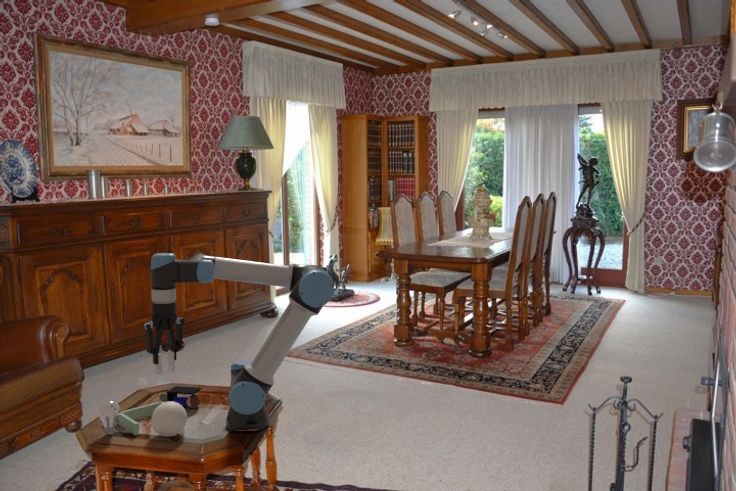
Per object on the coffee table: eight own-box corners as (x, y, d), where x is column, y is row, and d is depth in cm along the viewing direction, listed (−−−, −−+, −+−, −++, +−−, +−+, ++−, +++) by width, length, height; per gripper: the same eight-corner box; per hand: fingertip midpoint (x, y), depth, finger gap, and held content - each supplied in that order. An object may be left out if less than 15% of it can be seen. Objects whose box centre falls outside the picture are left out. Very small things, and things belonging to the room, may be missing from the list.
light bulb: (112, 440, 207) (111, 405, 205) (94, 438, 208) (93, 403, 207) (124, 432, 213) (124, 398, 212) (106, 430, 215) (105, 396, 213)
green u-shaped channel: (181, 422, 223) (180, 411, 222) (135, 435, 211) (135, 424, 210) (161, 411, 233) (161, 401, 232) (117, 423, 220) (117, 412, 220)
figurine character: (159, 411, 237) (195, 410, 233) (157, 391, 236) (193, 391, 233) (169, 404, 244) (204, 404, 240) (167, 385, 243) (202, 385, 239)
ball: (194, 432, 214) (193, 399, 213) (170, 445, 204) (170, 411, 203) (168, 426, 219) (167, 394, 218) (143, 438, 209) (143, 405, 207)
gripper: (181, 296, 208) (182, 364, 210) (133, 302, 196) (134, 374, 198) (193, 299, 203) (194, 369, 205) (144, 306, 191) (145, 380, 193)
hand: (165, 371), depth 202 cm, fingers open, 4 cm apart
